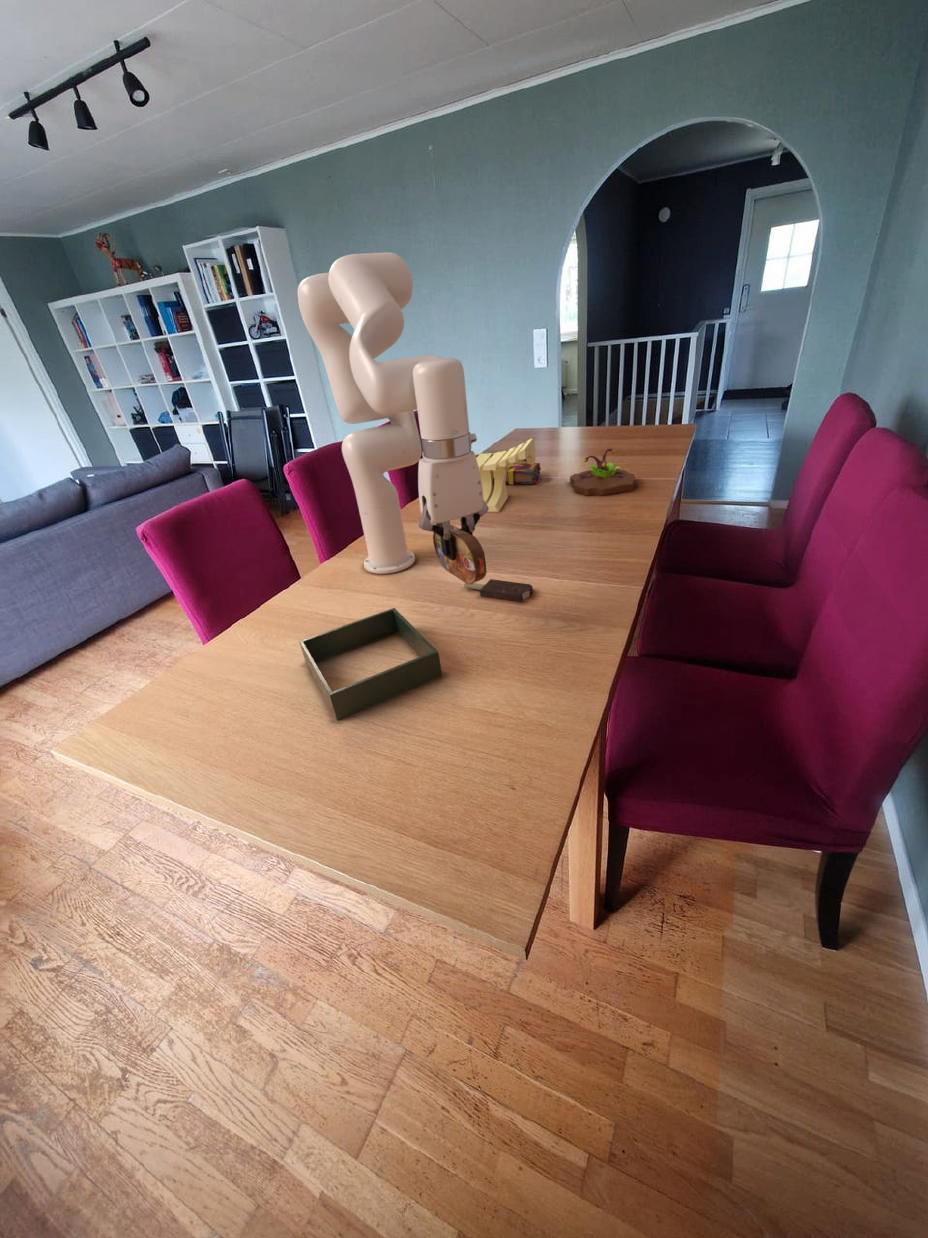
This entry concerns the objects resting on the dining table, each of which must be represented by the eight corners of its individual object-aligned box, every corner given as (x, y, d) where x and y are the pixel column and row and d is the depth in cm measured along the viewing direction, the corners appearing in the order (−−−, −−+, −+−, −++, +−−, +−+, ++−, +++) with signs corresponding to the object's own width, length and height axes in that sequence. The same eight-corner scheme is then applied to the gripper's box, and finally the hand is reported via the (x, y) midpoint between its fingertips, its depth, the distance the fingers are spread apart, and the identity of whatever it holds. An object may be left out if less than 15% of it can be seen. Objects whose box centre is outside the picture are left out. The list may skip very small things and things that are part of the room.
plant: (643, 492, 153) (647, 453, 147) (577, 497, 154) (578, 460, 148) (626, 473, 170) (628, 438, 164) (567, 479, 171) (567, 444, 165)
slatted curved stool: (536, 494, 161) (534, 435, 152) (527, 511, 148) (524, 448, 139) (446, 494, 170) (439, 439, 160) (430, 511, 157) (422, 452, 148)
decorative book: (499, 475, 183) (498, 460, 181) (543, 475, 178) (543, 460, 175) (490, 484, 174) (488, 469, 172) (536, 485, 169) (536, 469, 166)
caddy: (306, 664, 92) (299, 641, 89) (398, 630, 99) (394, 607, 96) (337, 720, 78) (329, 695, 75) (442, 676, 85) (438, 651, 82)
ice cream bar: (459, 593, 109) (525, 603, 103) (458, 586, 108) (525, 596, 102) (470, 582, 113) (534, 591, 107) (469, 575, 112) (534, 584, 106)
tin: (436, 564, 96) (427, 522, 92) (451, 558, 98) (442, 516, 93) (477, 592, 85) (468, 546, 80) (493, 585, 86) (485, 539, 81)
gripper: (478, 434, 86) (486, 536, 95) (389, 454, 80) (407, 561, 89) (503, 440, 80) (509, 548, 90) (409, 462, 74) (426, 576, 83)
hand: (458, 554), depth 89 cm, fingers closed on tin, 2 cm apart
